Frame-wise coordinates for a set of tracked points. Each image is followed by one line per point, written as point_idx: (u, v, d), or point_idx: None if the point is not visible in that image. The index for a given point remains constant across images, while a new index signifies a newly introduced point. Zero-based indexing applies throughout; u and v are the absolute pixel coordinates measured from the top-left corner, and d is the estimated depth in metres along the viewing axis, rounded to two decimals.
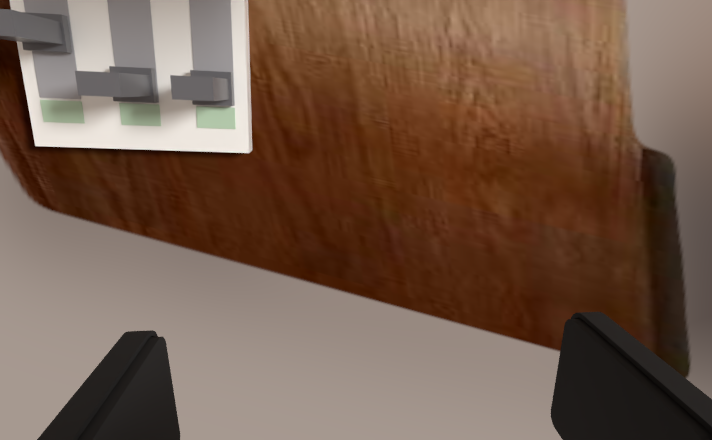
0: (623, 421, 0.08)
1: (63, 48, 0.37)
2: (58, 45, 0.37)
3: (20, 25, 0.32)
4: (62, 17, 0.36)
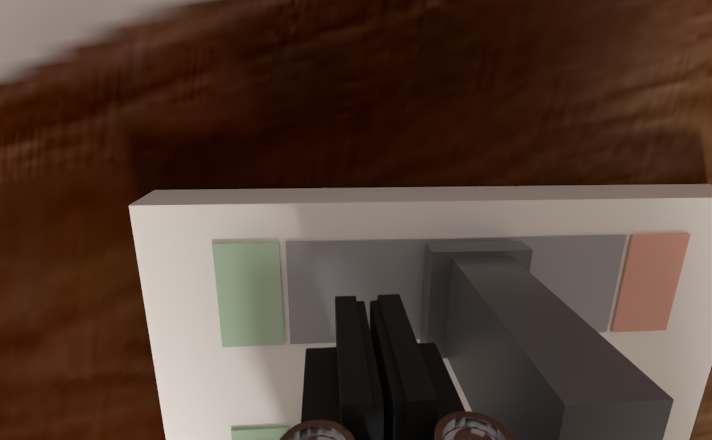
0: (380, 388, 0.09)
1: None
2: (442, 340, 0.13)
3: None
4: None
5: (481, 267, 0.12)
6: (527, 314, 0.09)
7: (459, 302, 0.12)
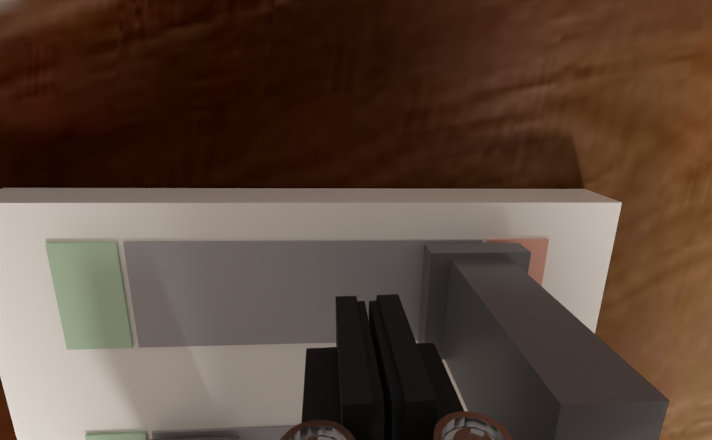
0: None
1: None
2: (440, 342, 0.13)
3: None
4: None
5: (479, 268, 0.12)
6: (525, 315, 0.09)
7: (457, 303, 0.12)
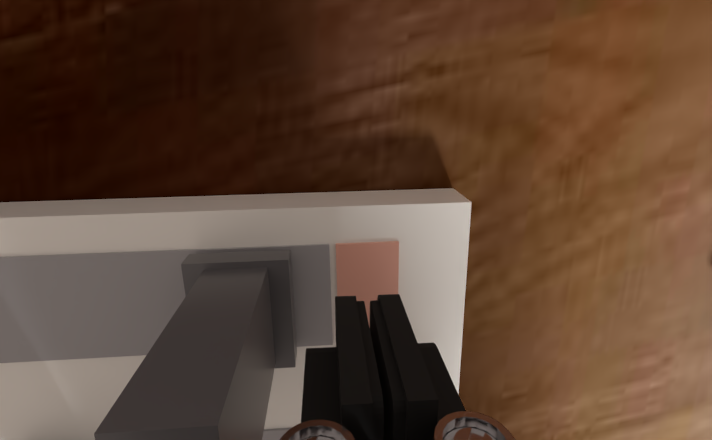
0: (380, 388, 0.09)
1: None
2: None
3: None
4: (288, 365, 0.13)
5: (220, 279, 0.11)
6: (195, 331, 0.09)
7: None
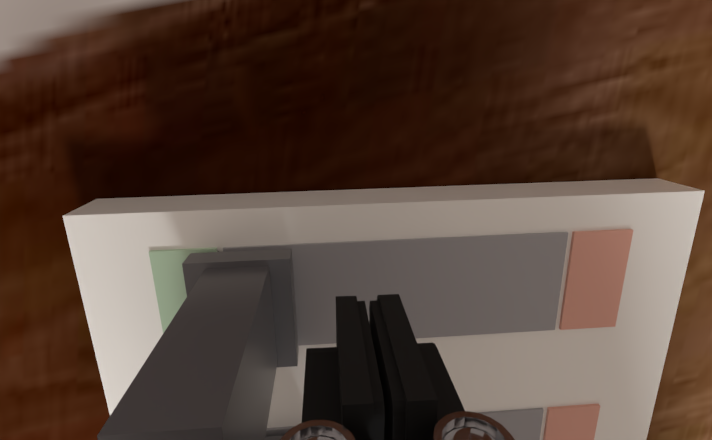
0: None
1: None
2: None
3: None
4: (290, 364, 0.13)
5: (221, 279, 0.11)
6: (197, 331, 0.09)
7: None
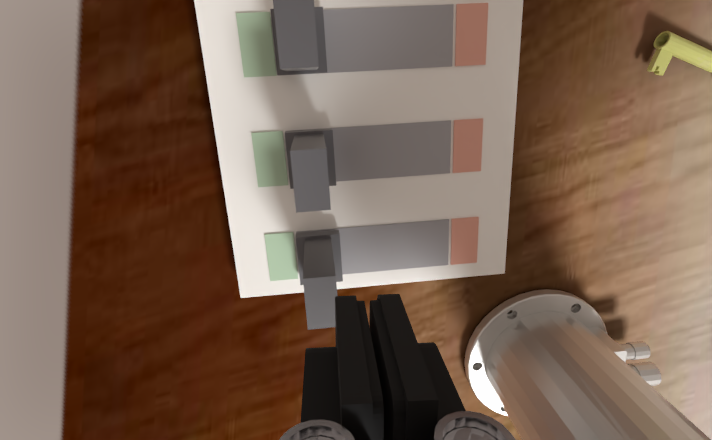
0: None
1: (281, 70, 0.25)
2: None
3: (298, 68, 0.20)
4: (323, 72, 0.26)
5: None
6: None
7: None
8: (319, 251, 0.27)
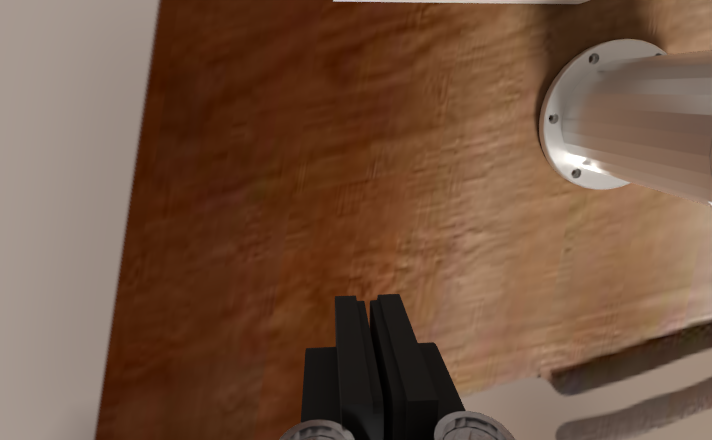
0: (380, 388, 0.09)
1: None
2: None
3: None
4: None
5: None
6: None
7: None
8: None
